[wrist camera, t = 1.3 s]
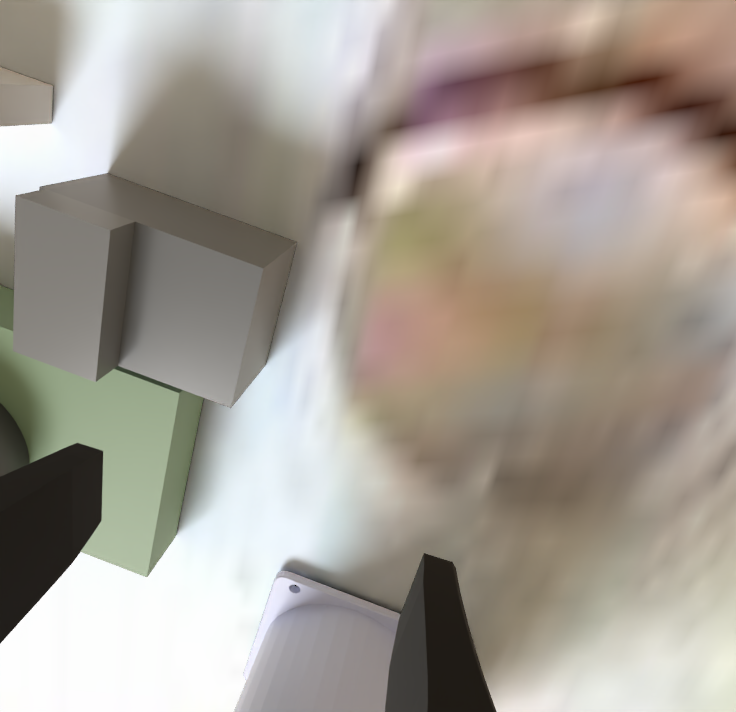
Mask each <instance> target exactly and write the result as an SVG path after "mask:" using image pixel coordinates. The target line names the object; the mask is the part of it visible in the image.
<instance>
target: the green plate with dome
mask: <svg viewBox="0 0 736 712" xmlns="http://www.w3.org/2000/svg"><path fill="white" fill-rule="evenodd" d="M52 102H53V85H50V84H47V83H44V82H41V81H38V80H36V79H33V78H30V77H27V76H24V75H22V74H19V73H16V72H13V71H10V70H8V69H5V68H2V67H0V126H15V125H33V124H51V123H52ZM13 317H14V290H12V289H9V288H6V287H4V286H1V285H0V476H3V475H5V474H7V473H10V472H12V471H14V470H16V469H19V468H21V467H23V466H25V465H28V464H30V463H32V462H34V461H36V460H39V459H41V458H43V457H45V456H48V455H50V454H52V453H54V452H57V451H59V450H61V449H63V448H66V447H68V446H71V445H73V444H75V443H80V444H83V445H86V446H90V447H93V448H96V449H99V450H102V451H103V483H102V521H101V523H100V524H99V525H98V527H97V528H96V530H95V531H94V533H93V534H92V536H91V537H90V539H89V540H88V542H87V543H86V545H85V546H84V547H83V549H82V550H81V551H80V552H83V553H85V554H88V555H90V556H93V557H96V558H98V559H101V560H103V561H106V562H109V563H111V564H114V565H116V566H119V567H122V568H124V569H127V570H129V571H132V572H135V573H137V574H140V575H142V576H145V577H148V575H149V574H150V572H151V571H152V569H153V568H154V567H155V565H156V564H157V562H158V561H159V559H160V558H161V557H162V555H163V554H164V552H165V551H166V549H167V548H168V547H169V545H170V544H171V542H172V541H173V539H174V538H175V537H176V533H177V528H178V523H179V518H180V513H181V508H182V503H183V498H184V493H185V488H186V483H187V478H188V473H189V468H190V463H191V458H192V453H193V448H194V443H195V438H196V433H197V428H198V423H199V418H200V414H201V409H202V404H203V399H204V398H203V397H200V396H197V395H195V394H192V393H189V392H187V391H184V390H181V389H179V388H176V387H173V386H171V385H168V384H165V383H163V382H160V381H157V380H155V379H152V378H149V377H147V376H144V375H141V374H139V373H136V372H133V371H131V370H128V369H125V368H123V367H120V366H117V367H116V368H114V369H113V370H112V371H110V372H109V373H108V374H106V375H105V376H103V377H102V378H101V379H99V380H98V381H97V382H94V381H91V380H88V379H86V378H83V377H80V376H78V375H75V374H72V373H70V372H67V371H64V370H62V369H59V368H56V367H54V366H51V365H48V364H46V363H43V362H41V361H38V360H35V359H33V358H30V357H27V356H25V355H22V354H19V353H17V352H14V351H13Z"/></svg>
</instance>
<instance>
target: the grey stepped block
mask: <svg viewBox="0 0 736 712" xmlns="http://www.w3.org/2000/svg"><path fill="white" fill-rule="evenodd" d="M296 245H297V242H295V241H293V240H290V239H287V238H284V237H282V236H279V235H276V234H273V233H271V232H268V231H265V230H262V229H260V228H257V227H254V226H251V225H249V224H246V223H243V222H240V221H238V220H235V219H232V218H229V217H226V216H224V215H221V214H218V213H215V212H213V211H210V210H207V209H204V208H202V207H199V206H196V205H193V204H191V203H188V202H185V201H182V200H180V199H177V198H174V197H171V196H169V195H166V194H163V193H160V192H158V191H155V190H152V189H149V188H147V187H144V186H141V185H138V184H135V183H133V182H130V181H127V180H124V179H122V178H119V177H116V176H113V175H111V174H108V173H107V174H102V175H97V176H92V177H86V178H81V179H76V180H71V181H66V182H61V183H56V184H51V185H46V186H41V187H40V190H39V191H35V192H30V193H25V194H20V195H16V201H15V259H14V317H13V351H14V352H17V353H19V354H22V355H25V356H27V357H30V358H33V359H35V360H38V361H41V362H43V363H46V364H48V365H51V366H54V367H56V368H59V369H62V370H64V371H67V372H70V373H72V374H75V375H78V376H80V377H83V378H86V379H88V380H91V381H94V382H97V381H98V380H99V379H101V378H102V377H103V376H105V375H106V374H108V373H109V372H110V371H112V370H113V369H114V368H116V367H117V366H120V367H123V368H125V369H128V370H131V371H133V372H136V373H139V374H141V375H144V376H147V377H149V378H152V379H155V380H157V381H160V382H163V383H165V384H168V385H171V386H173V387H176V388H179V389H181V390H184V391H187V392H189V393H192V394H195V395H197V396H200V397H203V398H205V399H208V400H211V401H214V402H216V403H219V404H222V405H224V406H227V407H230V408H231V407H232V406H233V405H234V404H235V402H236V401H237V400H238V399H239V397H240V396H241V395H242V394H243V392H244V391H245V390H246V389H247V388H248V386H249V385H250V384H251V383H252V381H253V380H254V379H255V378H256V376H257V375H258V374H259V373H260V371H261V370H262V369H263V368H264V367H265V365H266V362H267V358H268V354H269V350H270V346H271V342H272V338H273V334H274V331H275V327H276V323H277V319H278V315H279V311H280V307H281V303H282V299H283V295H284V292H285V288H286V284H287V280H288V276H289V272H290V268H291V264H292V260H293V256H294V252H295V249H296Z"/></svg>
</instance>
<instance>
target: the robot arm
mask: <svg viewBox="0 0 736 712" xmlns="http://www.w3.org/2000/svg"><path fill="white" fill-rule="evenodd" d="M102 483H103V451H102V450H99V449H96V448H93V447H90V446H86V445H83V444H80V443H75V444H73V445H71V446H68V447H66V448H63V449H61V450H59V451H57V452H54V453H52V454H50V455H48V456H45V457H43V458H41V459H39V460H36V461H34V462H32V463H30V464H28V465H25V466H23V467H21V468H19V469H16V470H14V471H12V472H10V473H7V474H5V475H3V476H0V643H1V642H2V641H3V640H4V639H5V637H6V636H7V635H8V634H9V633H10V632H11V631H12V630H13V629H14V627H15V626H16V625H17V624H18V623H19V622H20V621H21V620H22V619H23V618H24V616H25V615H26V614H27V613H28V612H29V611H30V610H31V609H32V608H33V606H34V605H35V604H36V603H37V602H38V601H39V600H40V599H41V598H42V596H43V595H44V594H45V593H46V592H47V591H48V590H49V589H50V587H51V586H52V585H53V584H54V583H55V582H56V581H57V580H58V578H59V577H60V576H61V575H62V574H63V573H64V572H65V571H66V569H67V568H68V567H69V566H70V565H71V564H72V562H73V561H74V560H75V558H76V557H77V556H78V554H79V553H80V551H81V550H82V549H83V547H84V546H85V545H86V543H87V542H88V540H89V539H90V537H91V536H92V534H93V533H94V531H95V530H96V528H97V527H98V525H99V524H100V523H101V521H102ZM295 585H297V586H295ZM244 678H245V679H246V683H245V685H244V688H243V690H242V693H241V695H240V698H239V700H238V702H237V705H236V707H235V710H234V712H496V709H495V706H494V704H493V701H492V698H491V695H490V693H489V690H488V687H487V684H486V681H485V678H484V675H483V672H482V669H481V666H480V663H479V659H478V656H477V653H476V648H475V645H474V643H473V640H472V636H471V633H470V629H469V626H468V622H467V618H466V614H465V610H464V606H463V602H462V597H461V593H460V588H459V583H458V578H457V572H456V568H455V566H454V564H453V562H450V561H447V560H444V559H441V558H437V557H434V556H431V555H428V554H425V553H424V555H423V557H422V560H421V563H420V565H419V568H418V570H417V573H416V576H415V578H414V581H413V583H412V586H411V589H410V591H409V594H408V596H407V599H406V602H405V604H404V607H403V609H402V612H401V614H399V613H397V612H394V611H391V610H389V609H386V608H384V607H381V606H378V605H376V604H373V603H370V602H368V601H365V600H363V599H360V598H357V597H355V596H352V595H349V594H347V593H344V592H342V591H339V590H336V589H334V588H331V587H328V586H326V585H323V584H321V583H318V582H315V581H313V580H310V579H307V578H305V577H302V576H300V575H297V574H294V573H292V572H289V571H280V572H278V573H277V575H276V577H275V579H274V582H273V585H272V588H271V591H270V594H269V598H268V601H267V604H266V607H265V610H264V613H263V616H262V619H261V622H260V625H259V628H258V631H257V634H256V637H255V640H254V643H253V646H252V649H251V652H250V655H249V658H248V662H247V665H246V668H245V671H244Z"/></svg>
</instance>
